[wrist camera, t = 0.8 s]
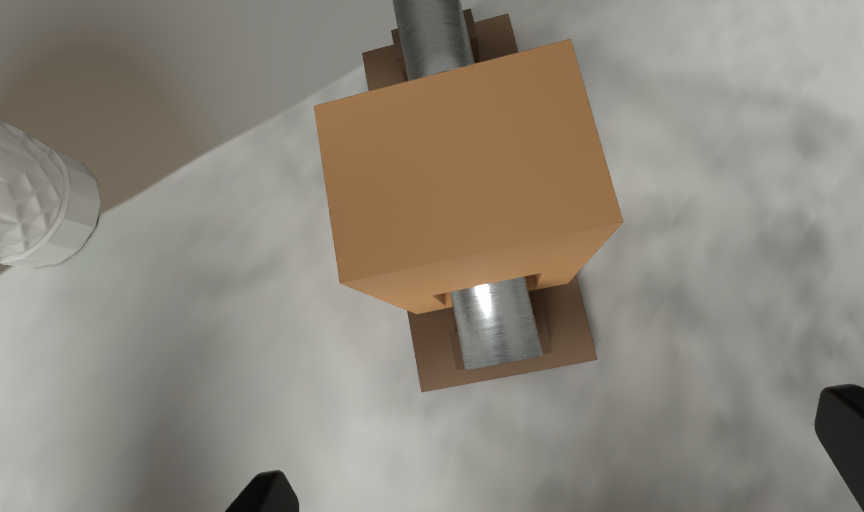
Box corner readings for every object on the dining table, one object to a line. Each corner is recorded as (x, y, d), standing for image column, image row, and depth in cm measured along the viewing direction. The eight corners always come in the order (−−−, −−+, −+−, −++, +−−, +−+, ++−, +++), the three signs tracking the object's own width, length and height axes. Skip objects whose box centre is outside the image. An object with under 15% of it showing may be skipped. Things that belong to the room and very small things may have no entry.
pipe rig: (593, 359, 22) (625, 362, 16) (425, 390, 23) (396, 404, 17) (508, 26, 26) (508, -72, 20) (367, 63, 27) (326, -20, 21)
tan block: (568, 283, 21) (623, 222, 11) (416, 314, 22) (339, 283, 12) (541, 180, 22) (570, 39, 12) (398, 213, 23) (313, 106, 13)
